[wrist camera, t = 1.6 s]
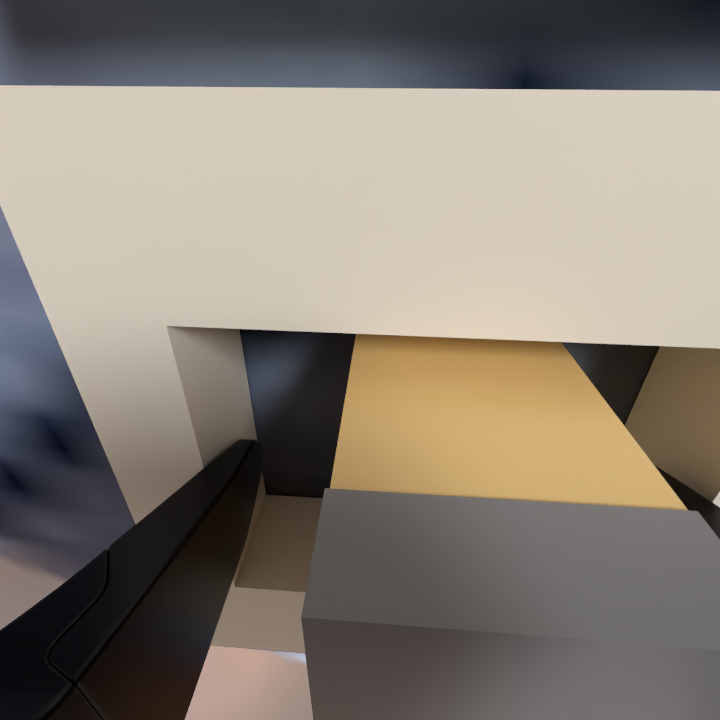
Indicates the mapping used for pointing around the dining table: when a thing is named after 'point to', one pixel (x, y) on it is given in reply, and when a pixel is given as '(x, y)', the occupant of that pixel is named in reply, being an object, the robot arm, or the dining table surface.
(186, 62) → the dining table surface
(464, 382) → the block
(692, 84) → the dining table surface
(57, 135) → the white square frame
